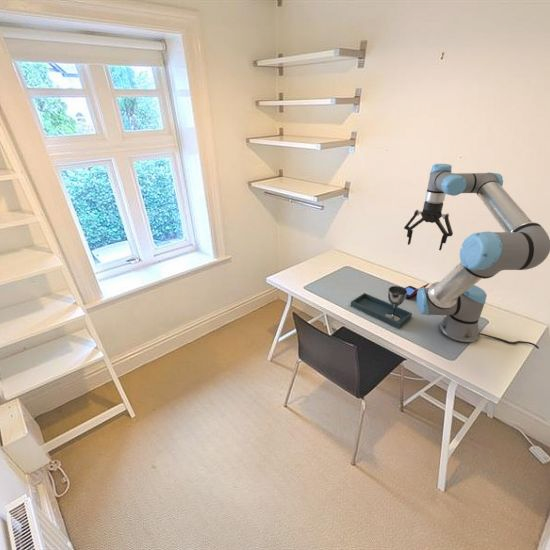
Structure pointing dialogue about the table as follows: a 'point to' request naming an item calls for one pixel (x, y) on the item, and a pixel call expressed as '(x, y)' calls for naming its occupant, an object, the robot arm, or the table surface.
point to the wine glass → (396, 300)
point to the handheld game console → (412, 291)
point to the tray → (380, 309)
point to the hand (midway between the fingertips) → (424, 246)
